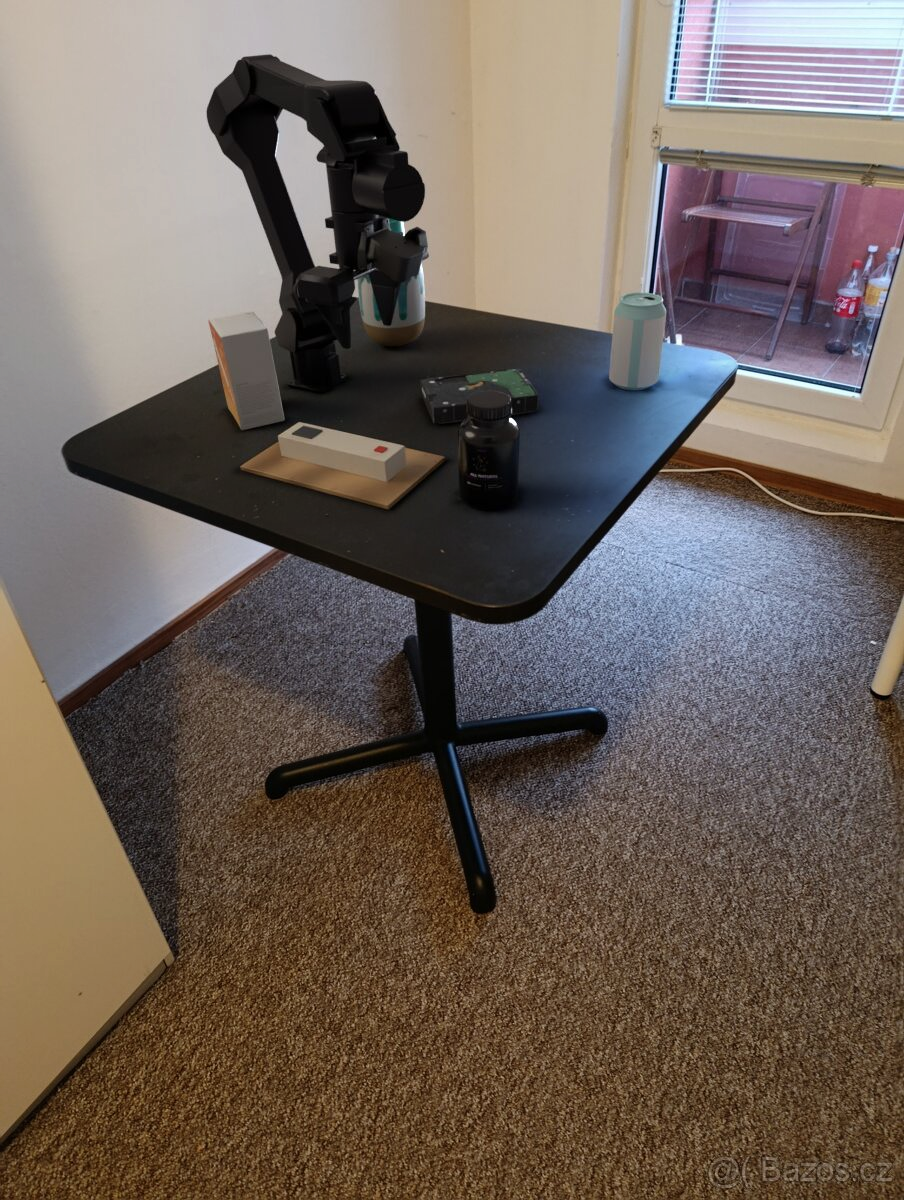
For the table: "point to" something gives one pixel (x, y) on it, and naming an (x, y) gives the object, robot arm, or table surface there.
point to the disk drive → (452, 392)
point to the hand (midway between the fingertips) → (367, 336)
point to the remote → (343, 451)
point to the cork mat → (345, 476)
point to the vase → (406, 311)
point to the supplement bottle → (488, 452)
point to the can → (637, 341)
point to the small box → (247, 369)
